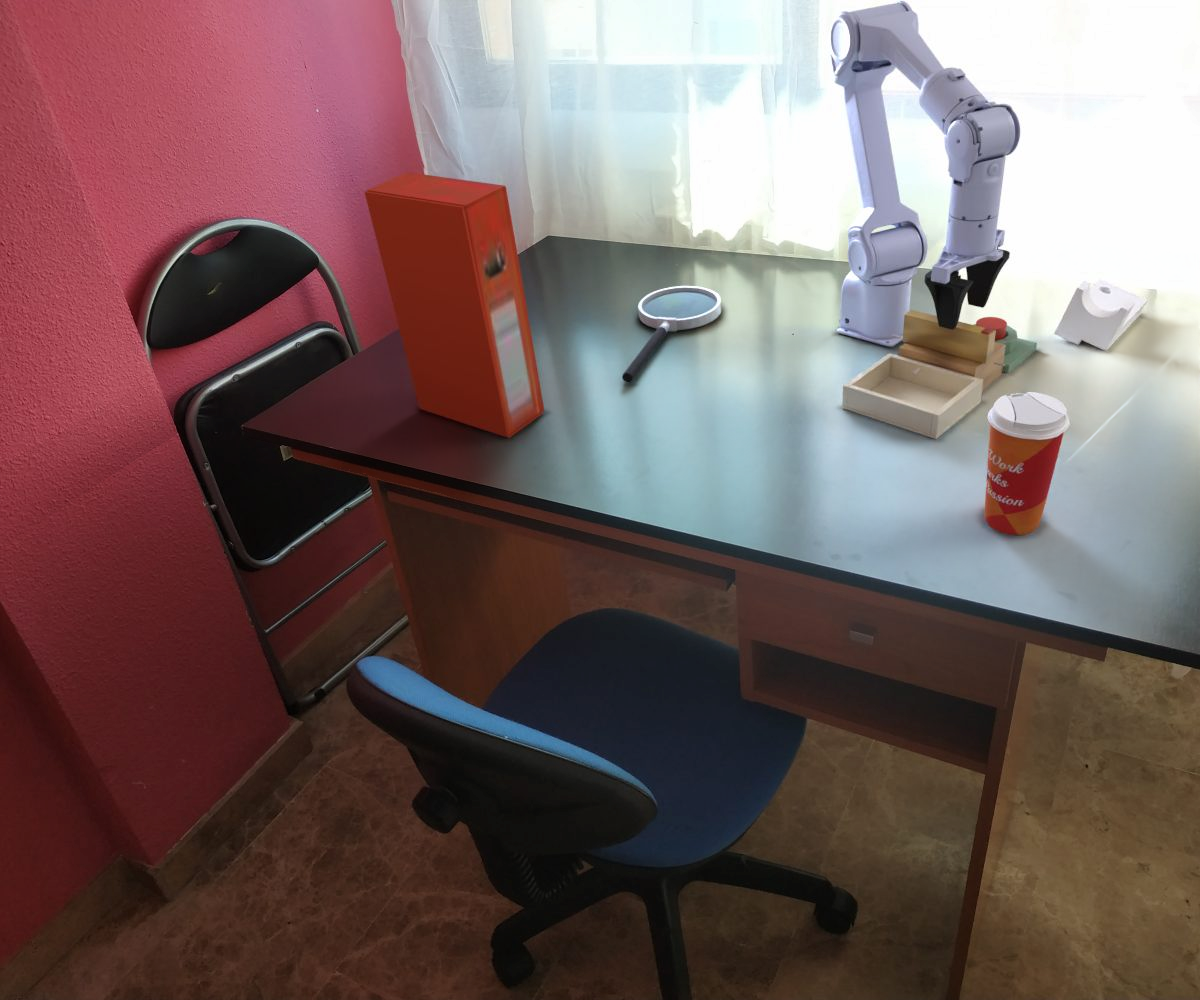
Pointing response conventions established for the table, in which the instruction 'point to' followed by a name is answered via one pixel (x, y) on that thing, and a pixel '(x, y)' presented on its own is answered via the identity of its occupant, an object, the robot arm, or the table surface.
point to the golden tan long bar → (949, 337)
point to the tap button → (994, 326)
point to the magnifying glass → (673, 316)
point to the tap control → (1015, 349)
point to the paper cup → (1022, 459)
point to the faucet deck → (957, 361)
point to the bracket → (1099, 314)
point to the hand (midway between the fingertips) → (962, 316)
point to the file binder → (458, 298)
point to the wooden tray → (912, 395)
